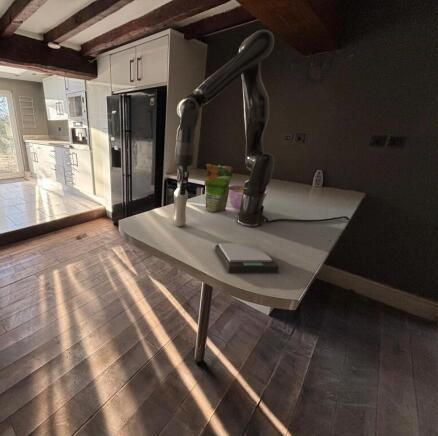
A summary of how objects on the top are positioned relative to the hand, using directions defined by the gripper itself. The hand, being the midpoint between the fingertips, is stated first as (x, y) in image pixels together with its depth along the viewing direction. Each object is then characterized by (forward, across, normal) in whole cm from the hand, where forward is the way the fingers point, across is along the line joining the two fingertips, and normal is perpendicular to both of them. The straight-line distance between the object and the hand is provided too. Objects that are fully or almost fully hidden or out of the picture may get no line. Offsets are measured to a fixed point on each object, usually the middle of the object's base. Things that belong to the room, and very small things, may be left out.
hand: (181, 192), depth 101 cm
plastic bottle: (+16, 0, 0) cm, 16 cm away
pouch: (+16, +21, -23) cm, 35 cm away
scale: (+16, -30, -18) cm, 38 cm away
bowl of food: (+16, +22, -40) cm, 48 cm away
